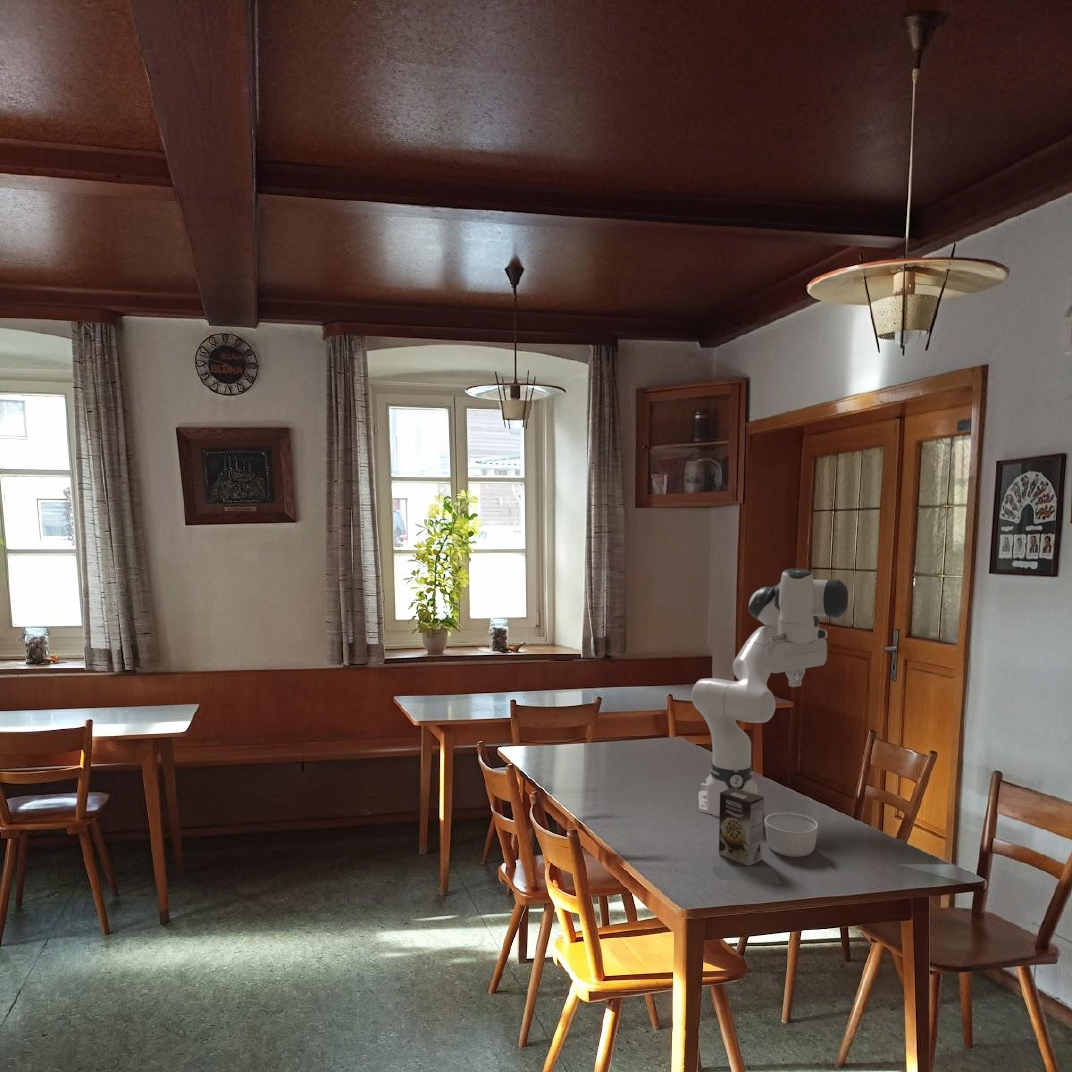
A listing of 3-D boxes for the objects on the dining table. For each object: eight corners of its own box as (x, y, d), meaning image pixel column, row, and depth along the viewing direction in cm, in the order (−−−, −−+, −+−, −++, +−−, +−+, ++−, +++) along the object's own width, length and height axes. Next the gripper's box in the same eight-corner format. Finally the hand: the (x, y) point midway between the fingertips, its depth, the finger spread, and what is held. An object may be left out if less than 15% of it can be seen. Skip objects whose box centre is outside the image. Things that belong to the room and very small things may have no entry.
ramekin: (753, 848, 219) (754, 821, 219) (780, 833, 228) (780, 808, 228) (801, 864, 210) (802, 836, 209) (827, 848, 219) (827, 822, 218)
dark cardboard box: (717, 855, 215) (718, 792, 214) (732, 847, 219) (733, 786, 218) (748, 867, 208) (749, 802, 207) (763, 859, 212) (764, 795, 211)
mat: (713, 868, 207) (713, 866, 207) (770, 868, 207) (770, 866, 207) (723, 888, 197) (723, 886, 197) (783, 887, 197) (783, 885, 197)
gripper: (777, 638, 211) (776, 693, 212) (831, 630, 222) (830, 683, 223) (758, 634, 216) (757, 688, 217) (812, 627, 227) (810, 678, 228)
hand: (794, 686), depth 220 cm, fingers closed
